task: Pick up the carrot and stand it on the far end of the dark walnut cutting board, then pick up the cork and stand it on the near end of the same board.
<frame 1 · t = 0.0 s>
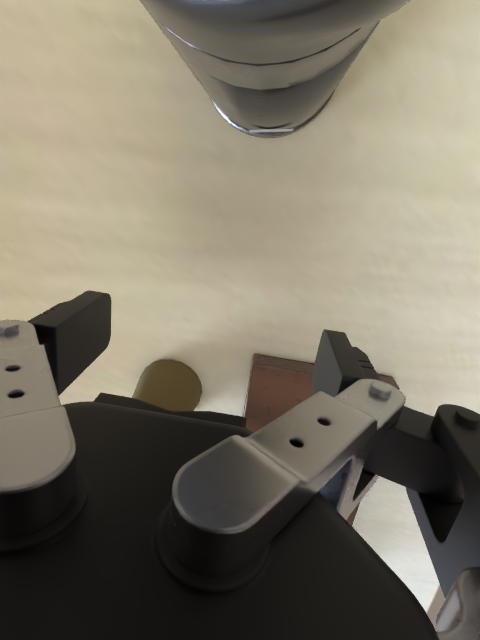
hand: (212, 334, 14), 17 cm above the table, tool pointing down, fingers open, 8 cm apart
cutting board: (296, 469, 37), on the table
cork: (171, 386, 35), on the table
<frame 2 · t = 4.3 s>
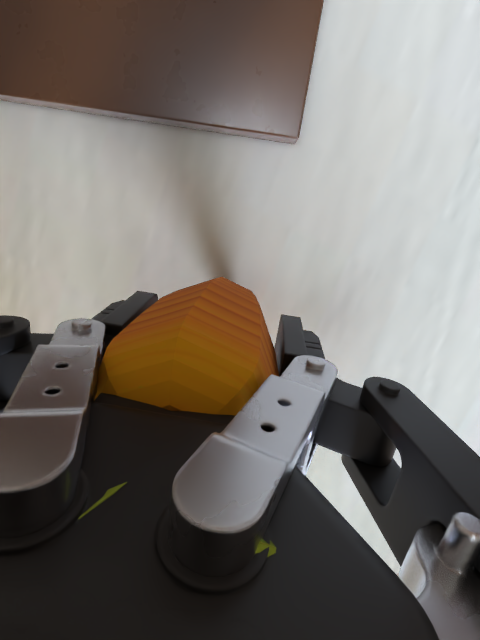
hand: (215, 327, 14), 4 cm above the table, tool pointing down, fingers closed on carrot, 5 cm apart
carrot: (228, 294, 19), on the table, touching gripper
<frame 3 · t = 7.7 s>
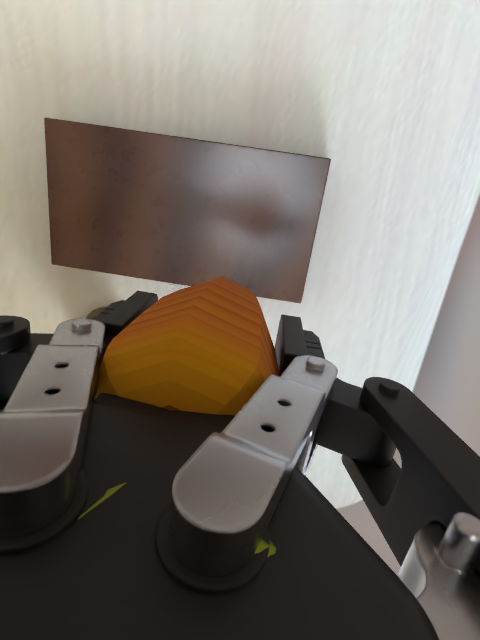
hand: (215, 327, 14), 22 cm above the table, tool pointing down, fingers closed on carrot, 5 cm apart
carrot: (229, 294, 19), point 17 cm above the table, touching gripper
cutting board: (184, 214, 34), on the table
when the fingers open (6 cm above the table, at t = 11.6 s): carrot stays where it is, resting on cutting board.
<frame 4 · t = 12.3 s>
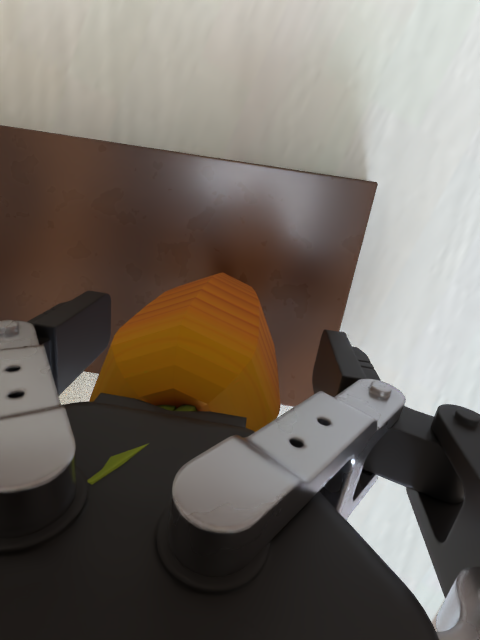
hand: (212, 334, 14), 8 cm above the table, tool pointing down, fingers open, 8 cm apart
carrot: (229, 290, 19), point 2 cm above the table, touching cutting board
cutting board: (131, 265, 21), on the table
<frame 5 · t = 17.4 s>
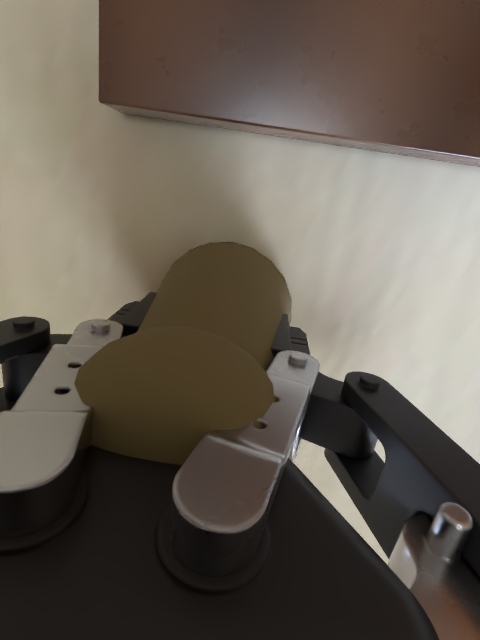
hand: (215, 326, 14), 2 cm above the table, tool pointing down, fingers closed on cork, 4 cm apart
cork: (225, 307, 17), on the table, touching gripper
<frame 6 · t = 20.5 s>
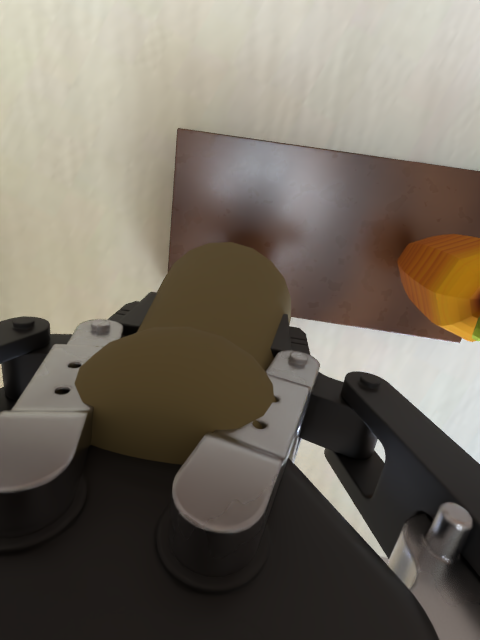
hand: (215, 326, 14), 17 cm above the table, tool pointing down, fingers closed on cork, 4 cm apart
carrot: (407, 254, 27), point 2 cm above the table, touching cutting board
cutting board: (324, 239, 29), on the table
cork: (225, 307, 17), point 14 cm above the table, touching gripper
when the fingers open (4 cm above the table, at t = 23.8 s): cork stays where it is, resting on cutting board.
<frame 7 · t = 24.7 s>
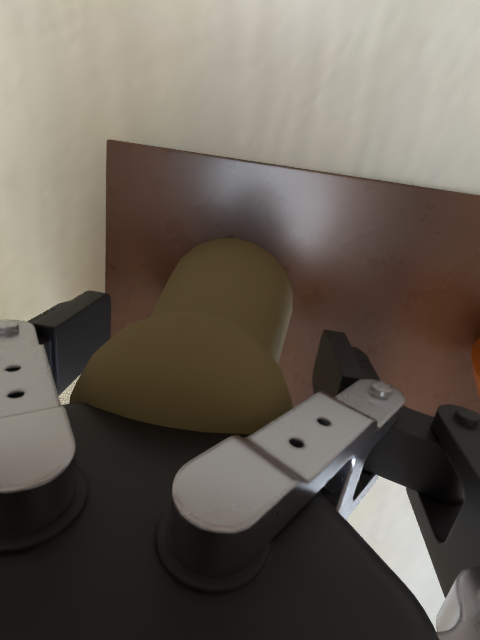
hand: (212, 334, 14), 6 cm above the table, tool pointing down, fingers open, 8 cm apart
carrot: (477, 341, 17), point 2 cm above the table, touching cutting board
cutting board: (345, 308, 19), on the table
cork: (229, 300, 18), point 2 cm above the table, touching cutting board
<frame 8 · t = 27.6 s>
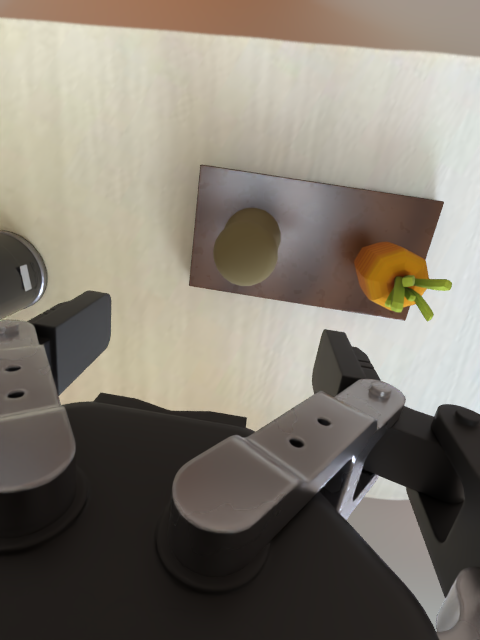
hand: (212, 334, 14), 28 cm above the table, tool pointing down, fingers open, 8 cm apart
carrot: (364, 255, 38), point 2 cm above the table, touching cutting board
cutting board: (306, 243, 40), on the table
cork: (251, 237, 38), point 2 cm above the table, touching cutting board
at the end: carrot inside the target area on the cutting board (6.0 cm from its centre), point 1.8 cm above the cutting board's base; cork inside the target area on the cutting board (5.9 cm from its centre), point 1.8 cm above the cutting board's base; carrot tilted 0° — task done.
